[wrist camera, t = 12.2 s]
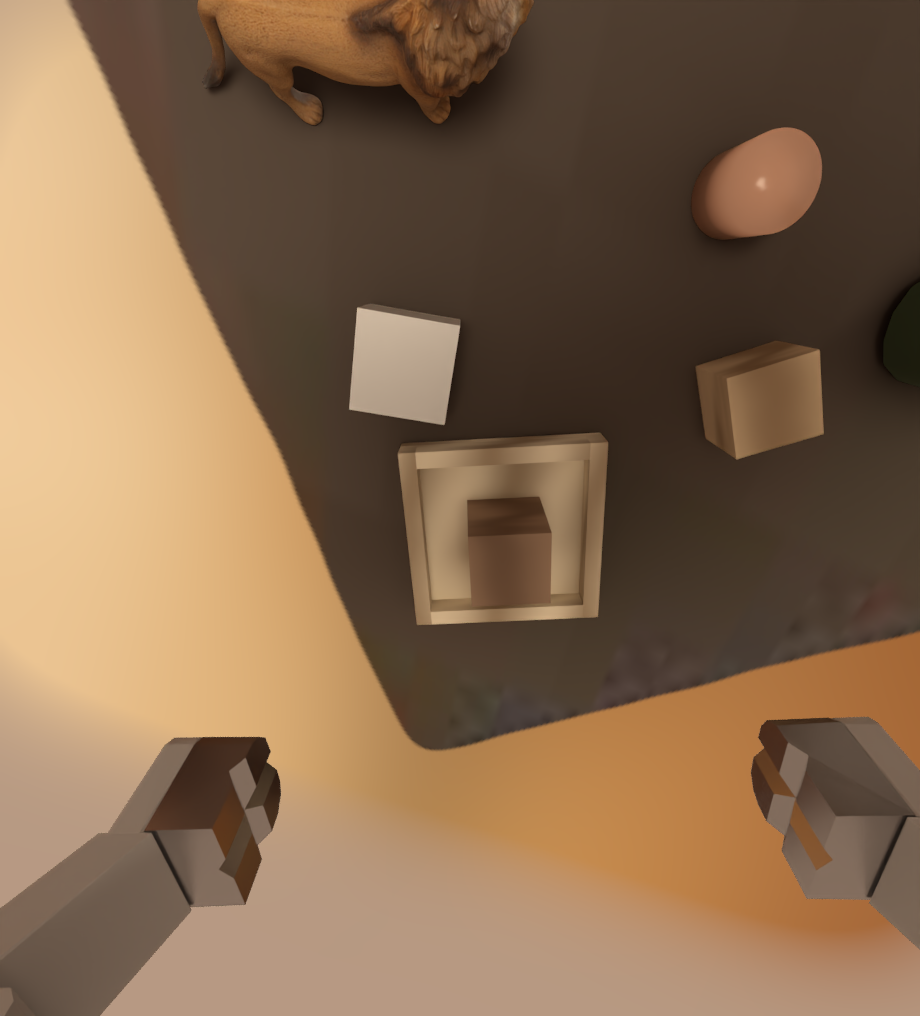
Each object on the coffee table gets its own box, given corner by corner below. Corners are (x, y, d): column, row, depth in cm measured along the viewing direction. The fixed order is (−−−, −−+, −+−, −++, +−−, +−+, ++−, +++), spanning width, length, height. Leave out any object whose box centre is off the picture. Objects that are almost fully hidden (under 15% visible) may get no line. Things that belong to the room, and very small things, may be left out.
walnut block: (539, 496, 32) (551, 533, 28) (538, 559, 34) (550, 603, 30) (467, 500, 33) (468, 536, 28) (470, 562, 34) (471, 606, 30)
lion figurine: (515, -29, 23) (544, -198, 15) (523, 118, 25) (551, 42, 17) (192, 20, 24) (48, -114, 15) (226, 159, 26) (116, 105, 18)
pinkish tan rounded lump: (779, 145, 26) (831, 124, 22) (763, 237, 27) (810, 231, 23) (696, 151, 26) (735, 130, 22) (686, 242, 27) (720, 237, 24)
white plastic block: (460, 319, 29) (460, 325, 25) (446, 407, 31) (444, 425, 27) (370, 303, 29) (357, 307, 25) (362, 393, 31) (349, 409, 27)
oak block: (775, 340, 29) (819, 349, 26) (781, 415, 31) (823, 433, 27) (694, 365, 30) (726, 378, 26) (704, 438, 32) (736, 459, 28)
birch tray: (600, 432, 31) (608, 442, 30) (590, 599, 36) (597, 616, 34) (401, 443, 32) (397, 453, 30) (419, 607, 37) (416, 625, 35)
